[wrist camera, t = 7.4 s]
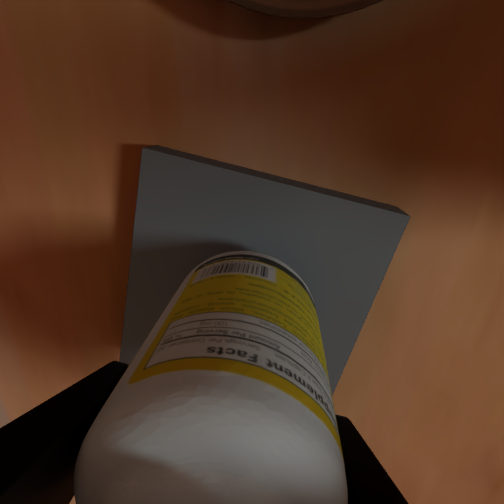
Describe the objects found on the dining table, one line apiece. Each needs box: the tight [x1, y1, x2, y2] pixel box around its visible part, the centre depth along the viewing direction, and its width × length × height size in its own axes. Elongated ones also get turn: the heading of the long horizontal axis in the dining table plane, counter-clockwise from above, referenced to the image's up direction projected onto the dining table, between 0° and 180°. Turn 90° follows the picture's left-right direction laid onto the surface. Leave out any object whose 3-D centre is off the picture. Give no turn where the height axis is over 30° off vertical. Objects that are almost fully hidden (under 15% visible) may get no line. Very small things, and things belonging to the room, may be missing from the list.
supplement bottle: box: [74, 251, 348, 504], centre depth 8 cm, size 5×5×10 cm
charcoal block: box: [119, 145, 410, 395], centre depth 15 cm, size 10×10×2 cm
